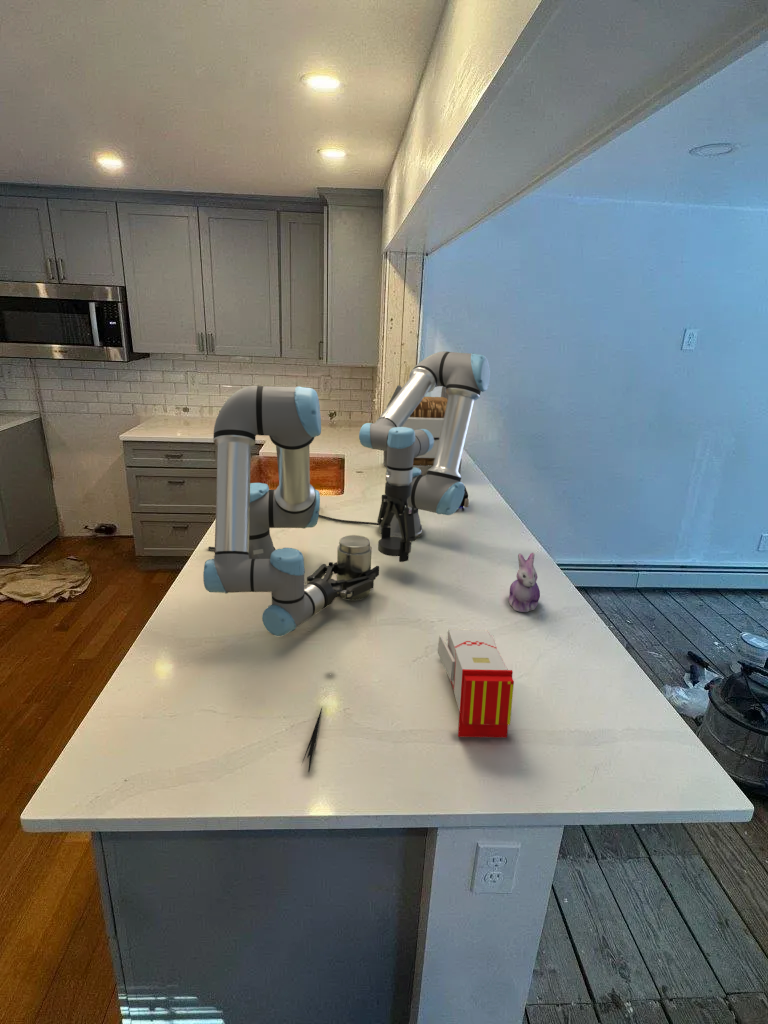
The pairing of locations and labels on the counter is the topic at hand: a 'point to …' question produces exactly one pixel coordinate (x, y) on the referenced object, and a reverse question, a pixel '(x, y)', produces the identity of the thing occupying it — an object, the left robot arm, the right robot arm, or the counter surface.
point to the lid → (390, 546)
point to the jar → (353, 560)
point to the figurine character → (464, 500)
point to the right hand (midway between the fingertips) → (394, 554)
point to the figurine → (525, 586)
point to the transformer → (426, 423)
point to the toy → (478, 682)
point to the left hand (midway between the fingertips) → (362, 565)
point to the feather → (313, 740)
